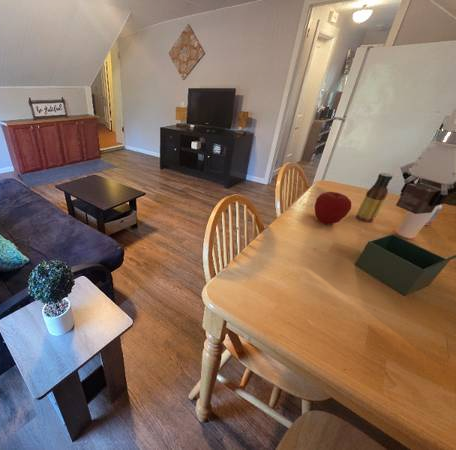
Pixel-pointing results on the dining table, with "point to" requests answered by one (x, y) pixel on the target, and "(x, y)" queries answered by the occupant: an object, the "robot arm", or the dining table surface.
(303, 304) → the dining table surface
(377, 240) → the bin
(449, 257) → the flap
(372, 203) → the sauce bottle
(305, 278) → the dining table surface
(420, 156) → the robot arm
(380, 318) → the dining table surface
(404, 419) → the dining table surface
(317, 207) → the apple
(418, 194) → the box
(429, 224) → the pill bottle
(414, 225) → the white coffee cup
